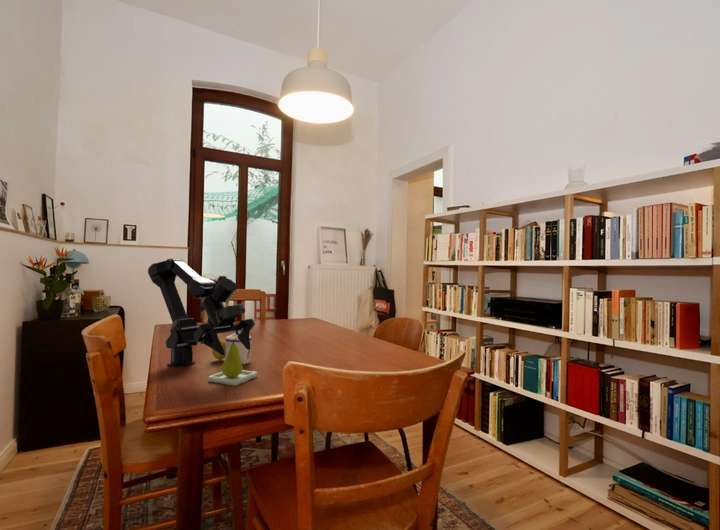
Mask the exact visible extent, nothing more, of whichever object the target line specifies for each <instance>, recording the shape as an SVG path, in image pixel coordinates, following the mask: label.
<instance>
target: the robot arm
mask: <svg viewBox="0 0 720 530" xmlns="http://www.w3.org/2000/svg"><path fill="white" fill-rule="evenodd" d="M147 274H148V277H149V279H150V280H151V282H152V284H154V285H156V286H157V287H158V288H159V290H160V291H161V294H162V297H163V300H164V303H165V306H166V309H167V312H168V314H169V316H170V319H171V321H172V323H171V326H170V330H169V332H170V334H169V336H168V338H167V339H166V341H165V347H166V348H167V349H171V350H170V362H168V363H166V365H167V366H169V365H171V366H170V367H176V368H184V367H186V366H190V365H194V364H196V361H193V358H194V357H193V354H194V352H193V346H197V345H198V343H200V344H201V345H205V346H207V347H209V348H210V349H214V350H215V351H216V352H218V353H219V354H221V355H224V354H225V352H224V349H223V347H222V345H221V343H220V341H219V339H220V338H219V337H218V334H226V333H233V332H234V333H236V334H237V335H238V337H237V338H238V339H239V340H240V341H241V343H242V344H243V345H244V346H245V348H246V349H247V350H250V348H251V349H252V346H251V347H250V338H249V335H250V331H252V329H253V328H254V327H255V325H256V323H255V321H254V319H253V318H244V319H240V321H239V322H238V323H237V324H234V323H236V322H237V318H238V317H241V316H243V315H244V314H245V313H246V308H245V306H244V304H243V303H237V304H235V305H228V306H225V305H224V303H227V302H228V301H229V300H230V298H231V297H232V296H233V295H234V293H235V292H236V291H237V289H238V286H237V284H236V282H234V281H233V280H232V279H230V278H228V277H227V276H226V275H225V276H224V275H220V276H219V277H218V279H217V281H216V282H215V281H214V280H212V279H209V278H207V277H203V276H201V275H199V273H197V272H196V271H195V270H194V269H192V268H191V267H190V266H189V265H188V264H186V263H185V261H184V260H183V258H182V259H181V258H168V259H166V260H163V261H160V262H154V263H152V264H150V266H148V269H147ZM177 277H178V278H179V279H180V280H181V281H183V283H184V284H186V286H187V287H188V292H189V293H190V295H191V297H192V298H193V299H195V300H199V299H203V300H202V301H201V302H200V305H199V308H198V310H199V311H205V313H206V315H207V317H208V319H207V323H201V324H199V325H198V323H197V320H196V318H194V317H191V318H190V317H188V315H187V312H186V309H185V306H184V305H183V302H182V298H181V296H180V294H179V291H178V288H177V286H176V284H175V282H176V279H177Z"/></svg>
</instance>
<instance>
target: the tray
mask: <svg viewBox="0 0 720 530" xmlns="http://www.w3.org/2000/svg"><path fill="white" fill-rule="evenodd" d="M257 377H258V372H257V371H253V370H252V371H251V370H244V369H242V372H241V373H240V374H239V375H238V376H237V377H234V378H228V377H226V376H225V375H224V374H223V372H222V371H219V372H218V373H215V374H211V375H209V376H208V377H207V378H208V379H207V380H208V382H210V383H215V384H216V383H217V384H222V385H226V386H233V387H235V386H239V385H242V384H244V383H246V382H248V380H249V381H250V379H251V380H253V379H256V378H257ZM252 378H253V379H252ZM241 383H242V384H241Z"/></svg>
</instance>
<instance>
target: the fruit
mask: <svg viewBox="0 0 720 530" xmlns="http://www.w3.org/2000/svg"><path fill="white" fill-rule="evenodd" d="M235 340H236V338H235ZM235 340H234V341H233V343H232V344H231V347H230V350H229V354H228V356H227V358H226V360H225V359H224V361H223V362H222V364H221V372H223V374H224V375H225V376H226V377H228V378H234V377H237V376H238V375H239V374H240V373H241V372H242V370H244V368H243V367H244V366H243V365H244V364H243V365H242V362H241V360H240V356H239V351H238V348H237V346H236V345H235V344H234V342H235Z"/></svg>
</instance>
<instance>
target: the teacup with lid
mask: <svg viewBox="0 0 720 530" xmlns="http://www.w3.org/2000/svg"><path fill="white" fill-rule="evenodd" d="M237 337H238V335H237V334H236V333H235V332H234V333H233V332H232V333H231V334H230V335H227V336H226V337H225V338H224V340H225V341H226V356H225V358H224V361H225V360H226V358H227V356H228V354H229V350H230V347H231V344H232V343H233V341H234V340H235V338H236V340H235V342H234V344H235V345H236V346H237V348H238V351H239V356H240V360H241V362H242V364H243V365H247V364H249V363H250V362H251V359H252V358H251V357H252V356H251V354H252V353H251V352H252V340H253V337H252V336H251V335H250V334H249V338H250V347H251V348H250V350H247V349H246V348H245V346H244V345H243V344H242V343H241V341H240V340H239V339H238V338H237ZM246 363H247V364H246Z"/></svg>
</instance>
